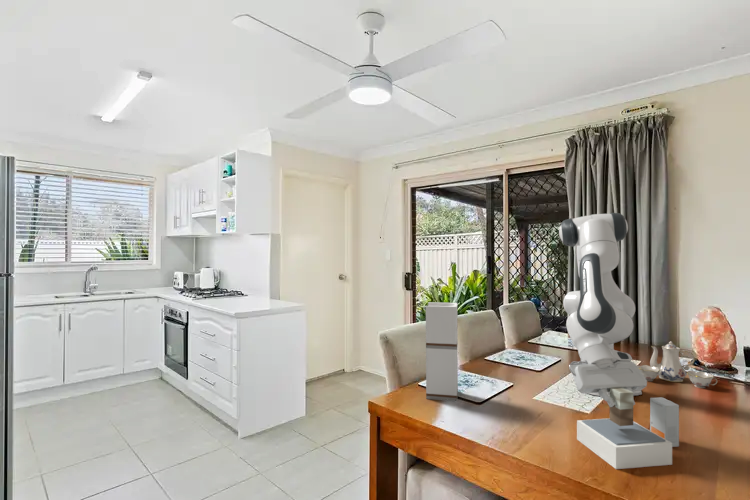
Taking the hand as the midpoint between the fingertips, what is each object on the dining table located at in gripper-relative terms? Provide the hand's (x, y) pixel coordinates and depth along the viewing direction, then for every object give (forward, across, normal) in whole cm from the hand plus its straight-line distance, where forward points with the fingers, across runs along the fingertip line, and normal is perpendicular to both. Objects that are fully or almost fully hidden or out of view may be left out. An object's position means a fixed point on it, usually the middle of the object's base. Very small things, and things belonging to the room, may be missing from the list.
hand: (622, 405), depth 111 cm
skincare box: (+7, +16, +12) cm, 21 cm away
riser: (+9, 0, +10) cm, 13 cm away
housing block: (+3, 0, +4) cm, 5 cm away
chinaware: (-26, +64, +45) cm, 82 cm away
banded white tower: (-25, -37, +44) cm, 62 cm away
